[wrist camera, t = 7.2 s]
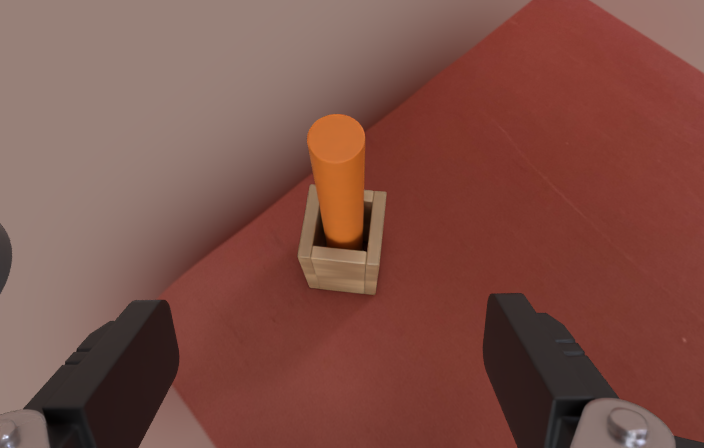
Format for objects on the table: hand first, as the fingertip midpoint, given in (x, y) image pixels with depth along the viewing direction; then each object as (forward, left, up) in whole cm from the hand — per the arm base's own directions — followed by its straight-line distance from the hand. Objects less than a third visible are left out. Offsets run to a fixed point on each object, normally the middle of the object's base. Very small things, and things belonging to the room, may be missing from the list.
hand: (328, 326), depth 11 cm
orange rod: (-1, +8, -20) cm, 22 cm away
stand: (-1, +8, -20) cm, 22 cm away
